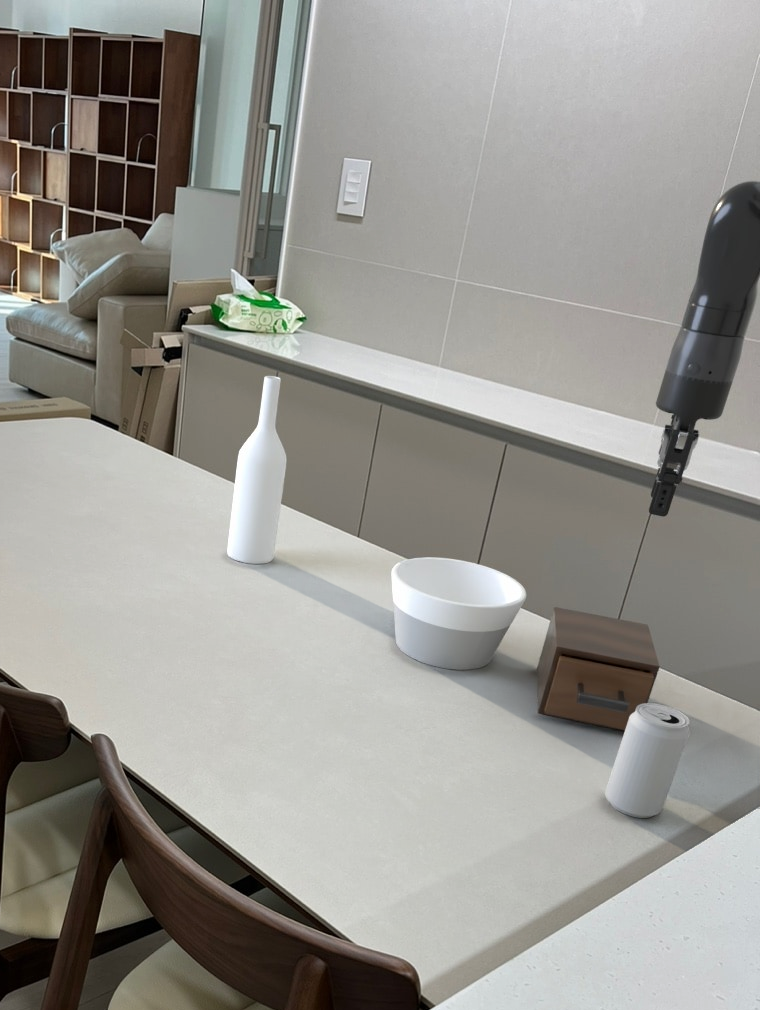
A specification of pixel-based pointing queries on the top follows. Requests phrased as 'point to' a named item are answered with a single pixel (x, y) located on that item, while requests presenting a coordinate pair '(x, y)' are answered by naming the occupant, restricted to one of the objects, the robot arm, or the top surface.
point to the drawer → (597, 691)
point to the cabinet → (593, 647)
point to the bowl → (452, 611)
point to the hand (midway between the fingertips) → (658, 506)
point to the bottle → (258, 486)
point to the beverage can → (647, 760)
